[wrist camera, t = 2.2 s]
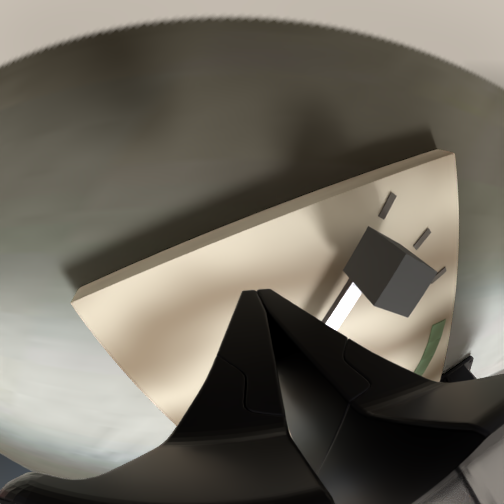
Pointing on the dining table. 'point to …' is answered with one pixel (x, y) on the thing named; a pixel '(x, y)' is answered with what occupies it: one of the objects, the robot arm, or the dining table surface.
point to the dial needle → (381, 278)
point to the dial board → (284, 279)
